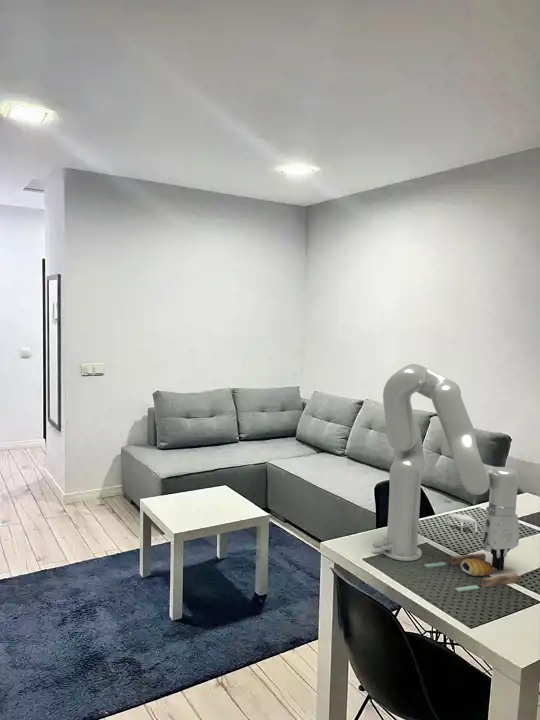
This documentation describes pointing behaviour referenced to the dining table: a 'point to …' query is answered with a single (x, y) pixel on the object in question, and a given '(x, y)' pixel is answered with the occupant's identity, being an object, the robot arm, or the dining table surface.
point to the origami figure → (463, 518)
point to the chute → (491, 580)
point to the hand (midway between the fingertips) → (497, 568)
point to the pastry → (476, 567)
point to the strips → (455, 588)
